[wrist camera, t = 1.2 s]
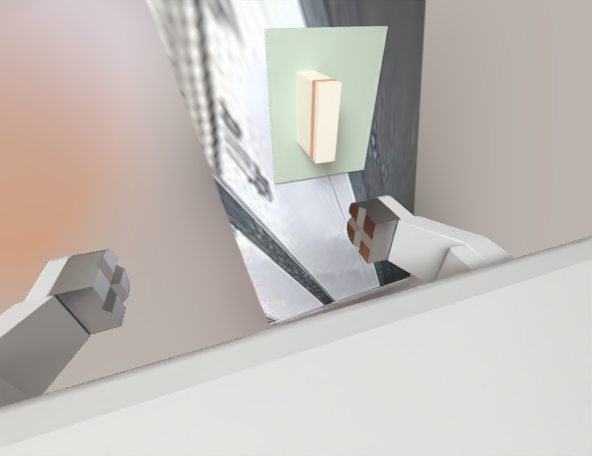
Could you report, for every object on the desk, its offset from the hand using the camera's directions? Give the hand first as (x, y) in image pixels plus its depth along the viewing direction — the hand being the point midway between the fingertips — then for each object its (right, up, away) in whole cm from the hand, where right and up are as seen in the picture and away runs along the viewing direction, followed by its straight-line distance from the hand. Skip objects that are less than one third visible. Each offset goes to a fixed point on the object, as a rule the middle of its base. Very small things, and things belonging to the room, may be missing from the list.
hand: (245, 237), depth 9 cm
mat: (+6, +17, +29) cm, 34 cm away
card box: (+3, +17, +28) cm, 33 cm away
